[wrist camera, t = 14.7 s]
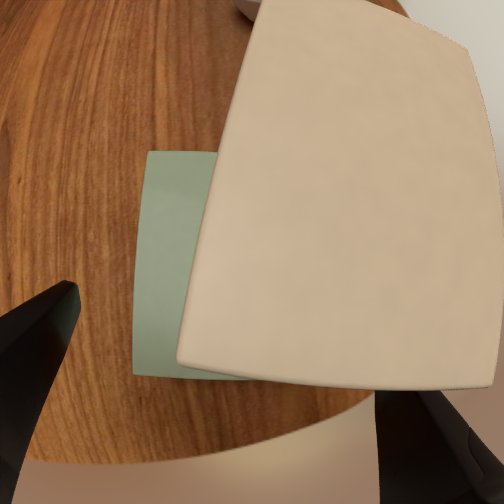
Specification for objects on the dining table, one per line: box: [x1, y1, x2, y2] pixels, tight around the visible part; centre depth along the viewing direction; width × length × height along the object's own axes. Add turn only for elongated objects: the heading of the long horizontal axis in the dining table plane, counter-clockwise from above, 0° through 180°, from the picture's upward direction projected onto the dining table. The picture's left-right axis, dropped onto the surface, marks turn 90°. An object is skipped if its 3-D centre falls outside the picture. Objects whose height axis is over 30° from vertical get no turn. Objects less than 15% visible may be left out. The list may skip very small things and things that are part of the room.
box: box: [132, 151, 256, 380], centre depth 19 cm, size 13×11×4 cm
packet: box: [175, 0, 504, 391], centre depth 10 cm, size 6×4×14 cm
